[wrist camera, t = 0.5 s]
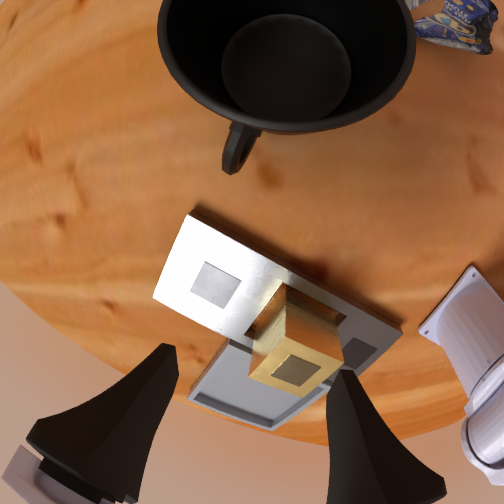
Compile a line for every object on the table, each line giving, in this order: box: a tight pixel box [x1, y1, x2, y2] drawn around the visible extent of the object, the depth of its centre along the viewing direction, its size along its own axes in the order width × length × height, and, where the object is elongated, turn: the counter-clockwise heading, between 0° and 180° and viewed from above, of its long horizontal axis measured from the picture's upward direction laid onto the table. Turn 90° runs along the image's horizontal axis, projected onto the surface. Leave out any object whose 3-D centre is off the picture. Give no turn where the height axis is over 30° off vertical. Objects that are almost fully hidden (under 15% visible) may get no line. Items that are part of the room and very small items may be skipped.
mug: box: [157, 0, 416, 175], centre depth 11 cm, size 9×12×9 cm
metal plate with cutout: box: [153, 210, 403, 382], centre depth 21 cm, size 20×8×1 cm, turn 61°
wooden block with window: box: [248, 285, 344, 398], centre depth 19 cm, size 5×5×6 cm
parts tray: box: [187, 338, 333, 431], centre depth 25 cm, size 11×11×2 cm
